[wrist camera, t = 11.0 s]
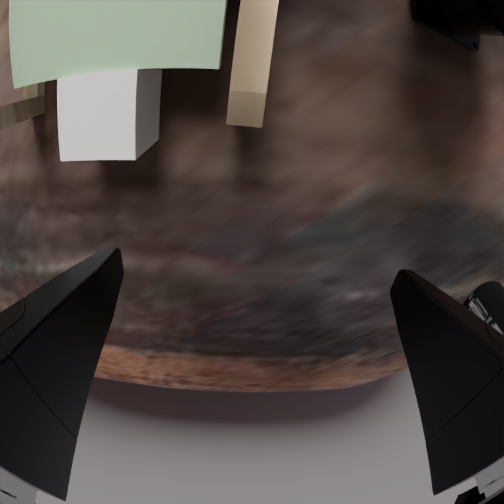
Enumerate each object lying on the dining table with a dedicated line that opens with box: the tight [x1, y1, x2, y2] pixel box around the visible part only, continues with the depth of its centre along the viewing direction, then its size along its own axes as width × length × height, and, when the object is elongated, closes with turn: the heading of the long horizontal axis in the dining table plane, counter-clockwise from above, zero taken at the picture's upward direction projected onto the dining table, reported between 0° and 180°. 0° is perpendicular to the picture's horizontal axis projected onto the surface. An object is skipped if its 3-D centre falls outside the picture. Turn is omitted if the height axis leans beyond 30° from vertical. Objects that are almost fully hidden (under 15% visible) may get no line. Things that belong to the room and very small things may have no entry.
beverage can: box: [465, 282, 504, 335], centre depth 24 cm, size 7×7×12 cm
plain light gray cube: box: [57, 69, 162, 161], centre depth 15 cm, size 5×5×5 cm
